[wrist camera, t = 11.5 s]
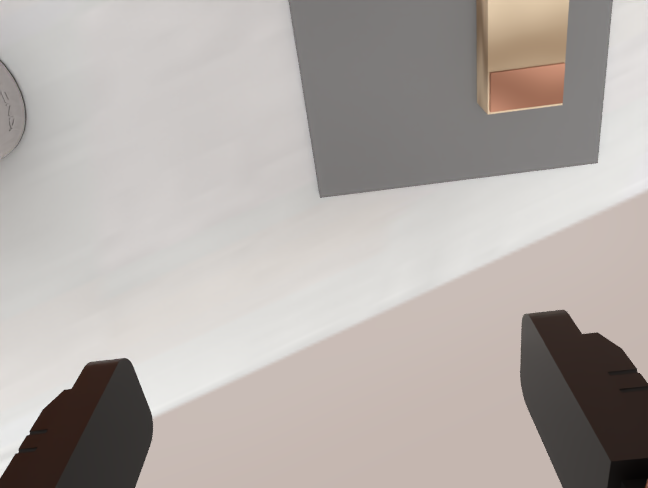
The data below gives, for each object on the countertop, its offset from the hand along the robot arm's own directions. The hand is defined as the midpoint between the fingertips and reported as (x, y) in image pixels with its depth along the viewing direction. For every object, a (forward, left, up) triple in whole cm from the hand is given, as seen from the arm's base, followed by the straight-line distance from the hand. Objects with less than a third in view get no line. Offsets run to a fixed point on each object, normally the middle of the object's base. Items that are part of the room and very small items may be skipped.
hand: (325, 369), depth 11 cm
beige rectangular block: (+12, +1, -29) cm, 31 cm away
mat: (+8, -1, -30) cm, 31 cm away
